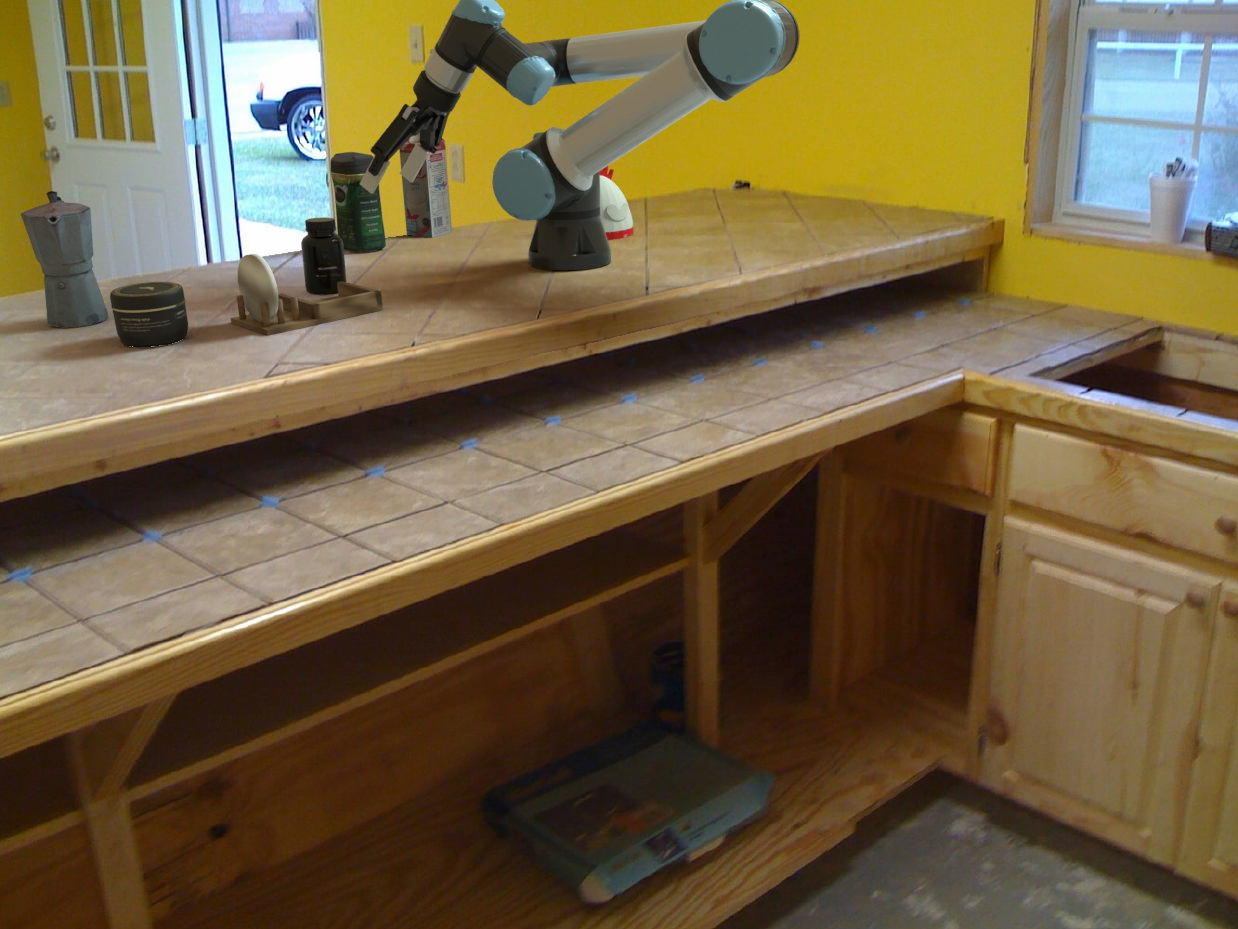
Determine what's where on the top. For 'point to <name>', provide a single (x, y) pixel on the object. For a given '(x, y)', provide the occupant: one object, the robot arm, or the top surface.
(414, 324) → the top surface
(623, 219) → the kitchen timer
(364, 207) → the coffee jar
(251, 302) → the dish rack
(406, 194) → the juice carton
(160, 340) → the jar
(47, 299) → the moka pot
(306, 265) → the supplement bottle
